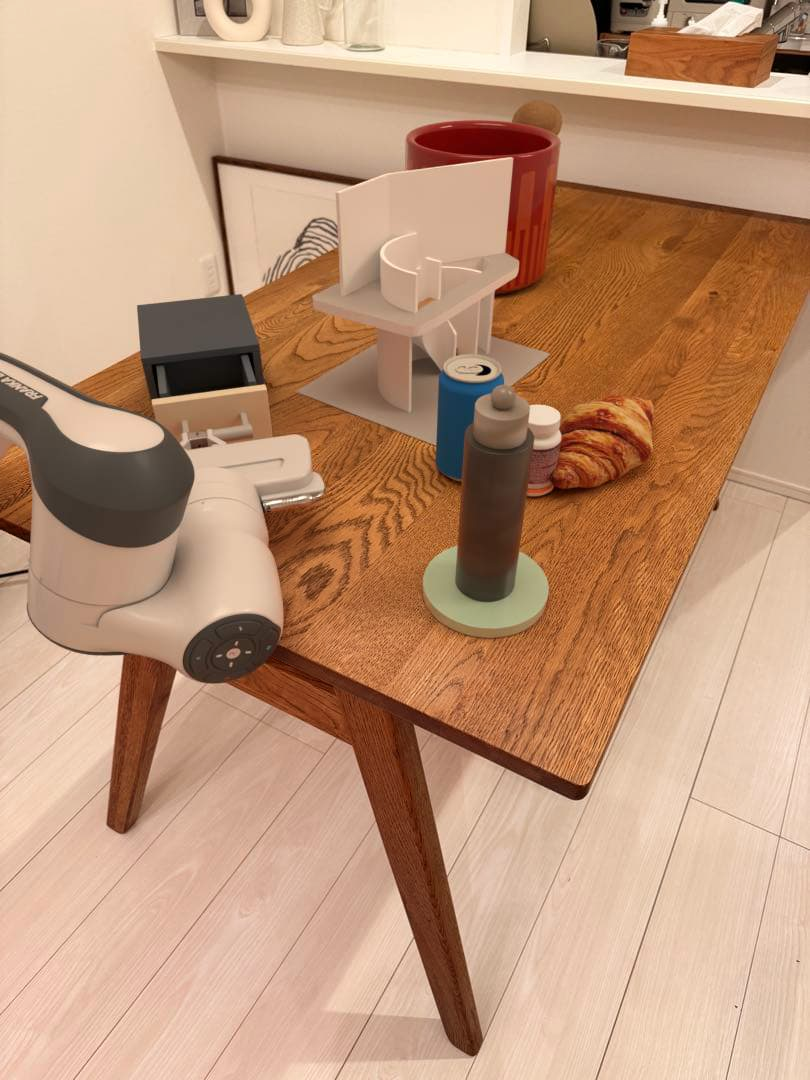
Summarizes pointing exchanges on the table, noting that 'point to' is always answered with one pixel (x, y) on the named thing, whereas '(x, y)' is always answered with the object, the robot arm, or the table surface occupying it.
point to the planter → (529, 180)
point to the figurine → (539, 116)
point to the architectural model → (420, 289)
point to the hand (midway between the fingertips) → (198, 436)
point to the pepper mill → (493, 495)
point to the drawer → (213, 399)
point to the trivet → (484, 616)
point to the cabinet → (195, 334)
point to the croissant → (603, 441)
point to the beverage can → (461, 405)
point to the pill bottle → (543, 448)
